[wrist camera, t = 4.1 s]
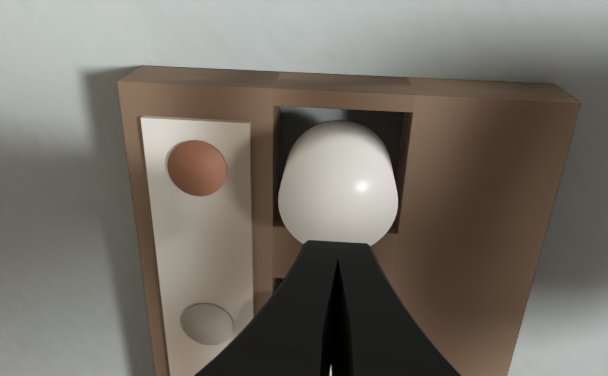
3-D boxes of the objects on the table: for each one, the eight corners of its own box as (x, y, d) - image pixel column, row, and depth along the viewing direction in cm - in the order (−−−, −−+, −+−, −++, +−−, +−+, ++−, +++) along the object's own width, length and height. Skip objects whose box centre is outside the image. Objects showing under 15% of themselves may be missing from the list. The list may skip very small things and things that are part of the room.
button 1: (397, 122, 15) (404, 151, 13) (385, 218, 17) (391, 257, 15) (286, 117, 15) (278, 144, 13) (285, 212, 17) (277, 250, 15)
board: (554, 84, 16) (585, 106, 14) (464, 454, 24) (476, 504, 21) (141, 65, 17) (112, 84, 15) (181, 431, 24) (165, 477, 22)
